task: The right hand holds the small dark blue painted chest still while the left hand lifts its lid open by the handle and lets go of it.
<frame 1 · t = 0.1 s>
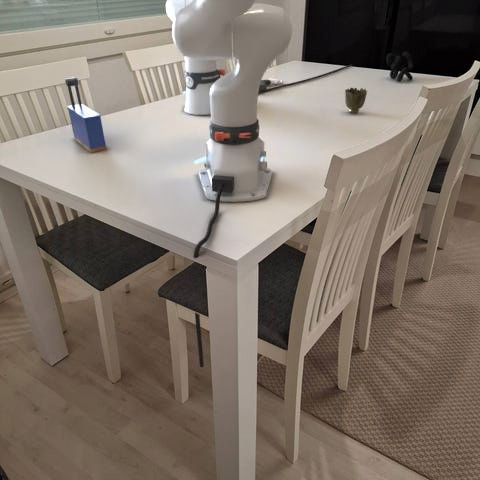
spray bottle: (259, 88, 192), on the table
chest: (90, 144, 136), on the table
lid: (80, 97, 129), point 14 cm above the table, hinge at 0.0°
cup: (353, 113, 159), on the table
squiggle: (399, 80, 200), on the table
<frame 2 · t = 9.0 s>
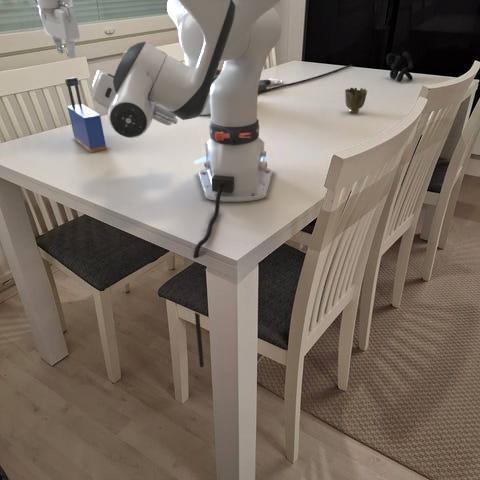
left hand: (66, 55, 127), 25 cm above the table, tool pointing down, fingers open, 8 cm apart
right hand: (138, 92, 111), 19 cm above the table, tool horizontal, fingers open, 8 cm apart
nothing on the table moved.
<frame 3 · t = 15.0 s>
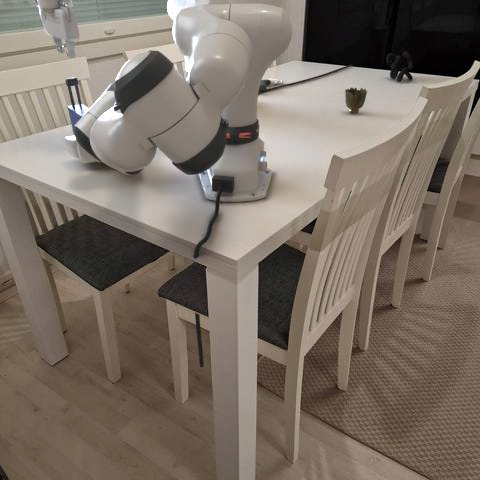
left hand: (66, 55, 127), 25 cm above the table, tool pointing down, fingers open, 8 cm apart
right hand: (93, 131, 130), 5 cm above the table, tool horizontal, fingers closed on chest, 5 cm apart
chest: (90, 144, 136), on the table, touching right hand
everything else where it was.
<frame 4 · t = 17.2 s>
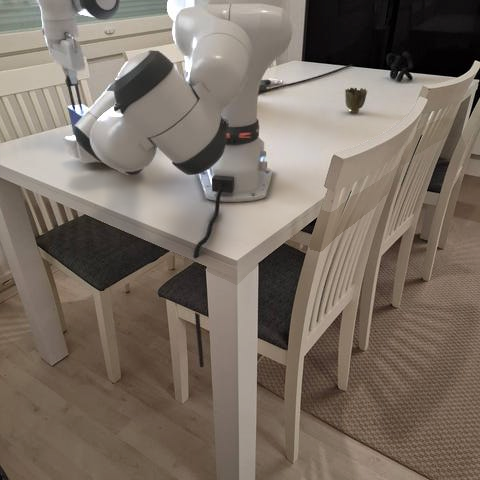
left hand: (72, 82, 131), 17 cm above the table, tool pointing down, fingers closed on lid, 2 cm apart
right hand: (93, 131, 130), 5 cm above the table, tool horizontal, fingers closed on chest, 5 cm apart
chest: (90, 144, 136), on the table, touching right hand
lid: (80, 97, 129), point 14 cm above the table, hinge at -0.1°, touching left hand
everything else where it was.
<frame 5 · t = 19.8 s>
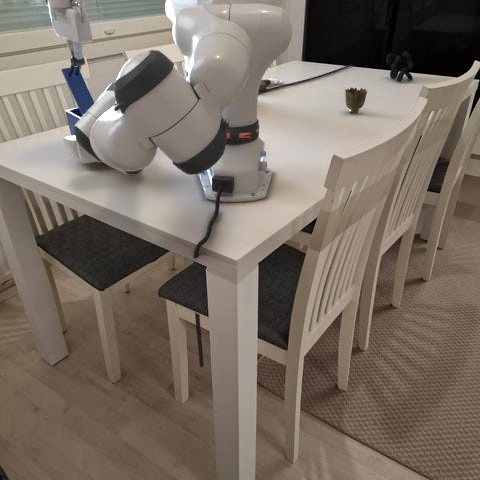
left hand: (76, 58, 118), 25 cm above the table, tool pointing down, fingers closed, pressing on lid
right hand: (92, 131, 130), 5 cm above the table, tool horizontal, fingers closed on chest, 5 cm apart
chest: (89, 144, 136), on the table, touching right hand
lid: (83, 86, 122), point 18 cm above the table, hinge at 52.5°, touching left hand
everything else where it was.
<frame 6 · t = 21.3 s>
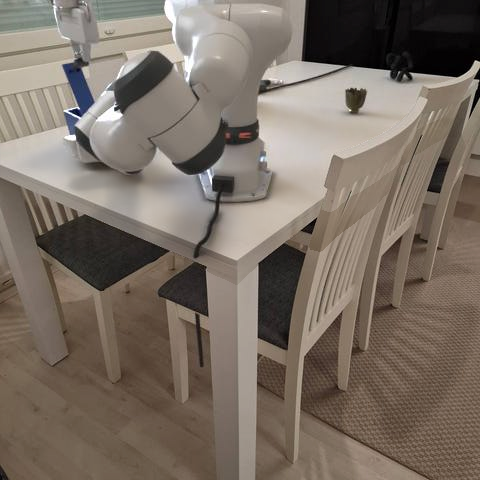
left hand: (82, 59, 115), 26 cm above the table, tool pointing down, fingers open, 5 cm apart
right hand: (92, 131, 130), 5 cm above the table, tool horizontal, fingers closed on chest, 5 cm apart
chest: (88, 144, 136), on the table, touching right hand
lid: (85, 86, 121), point 18 cm above the table, hinge at 65.3°, touching left hand
everything else where it was.
when the right hand's fingers open (5 cm above the table, at t = 25.0 s): chest stays where it is, on the table.
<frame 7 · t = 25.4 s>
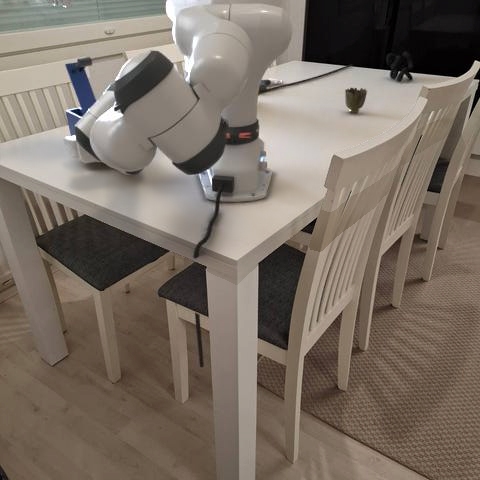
left hand: (62, 5, 116), 38 cm above the table, tool pointing down, fingers open, 8 cm apart
right hand: (93, 131, 130), 5 cm above the table, tool horizontal, fingers open, 8 cm apart
chest: (89, 144, 136), on the table
lid: (88, 86, 121), point 18 cm above the table, hinge at 64.3°
everything else where it was.
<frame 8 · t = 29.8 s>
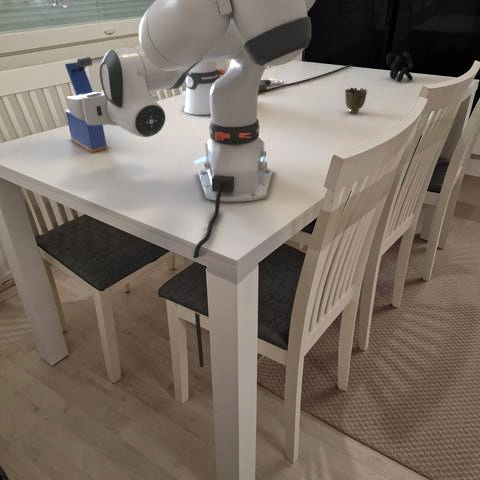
left hand: (62, 5, 116), 38 cm above the table, tool pointing down, fingers open, 8 cm apart
right hand: (100, 94, 114), 18 cm above the table, tool horizontal, fingers open, 8 cm apart
nothing on the table moved.
at the end: lid at +64° (first picture: +0°); the left hand is holding nothing; the right hand is holding nothing; chest tilted 0°; chest never tilted more than 3° during the clip; chest moved 0.3 cm from its start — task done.
